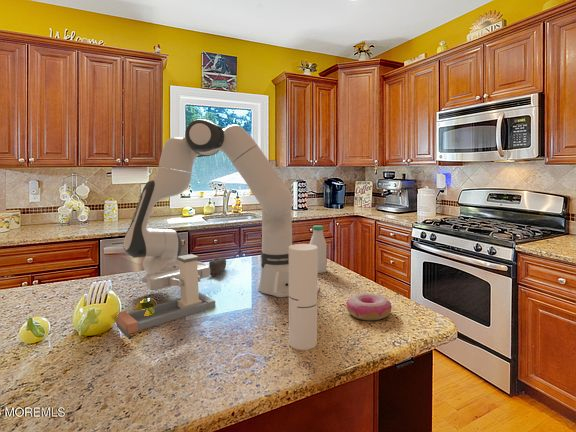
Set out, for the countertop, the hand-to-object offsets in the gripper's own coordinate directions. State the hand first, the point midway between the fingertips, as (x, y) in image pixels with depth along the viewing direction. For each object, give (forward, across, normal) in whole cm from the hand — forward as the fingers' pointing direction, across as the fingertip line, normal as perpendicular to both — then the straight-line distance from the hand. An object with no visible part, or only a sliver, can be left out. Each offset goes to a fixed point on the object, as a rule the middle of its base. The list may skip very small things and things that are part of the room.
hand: (190, 281), depth 104 cm
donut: (+38, +39, +10) cm, 56 cm away
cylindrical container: (+37, +12, +10) cm, 40 cm away
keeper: (-1, 0, +8) cm, 9 cm away
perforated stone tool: (-30, +28, +10) cm, 42 cm away
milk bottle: (-3, +62, +10) cm, 63 cm away
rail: (-1, -7, +10) cm, 12 cm away
